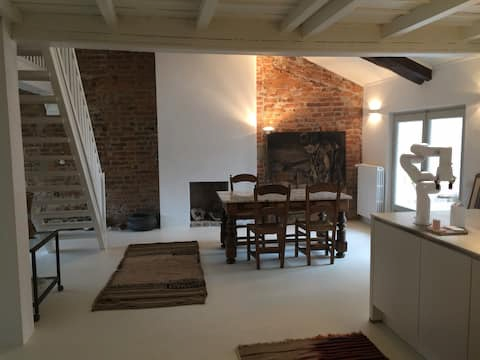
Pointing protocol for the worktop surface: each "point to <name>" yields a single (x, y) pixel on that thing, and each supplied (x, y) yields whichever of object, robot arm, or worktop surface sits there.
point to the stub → (436, 226)
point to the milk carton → (457, 214)
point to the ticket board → (449, 231)
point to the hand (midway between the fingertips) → (443, 189)
